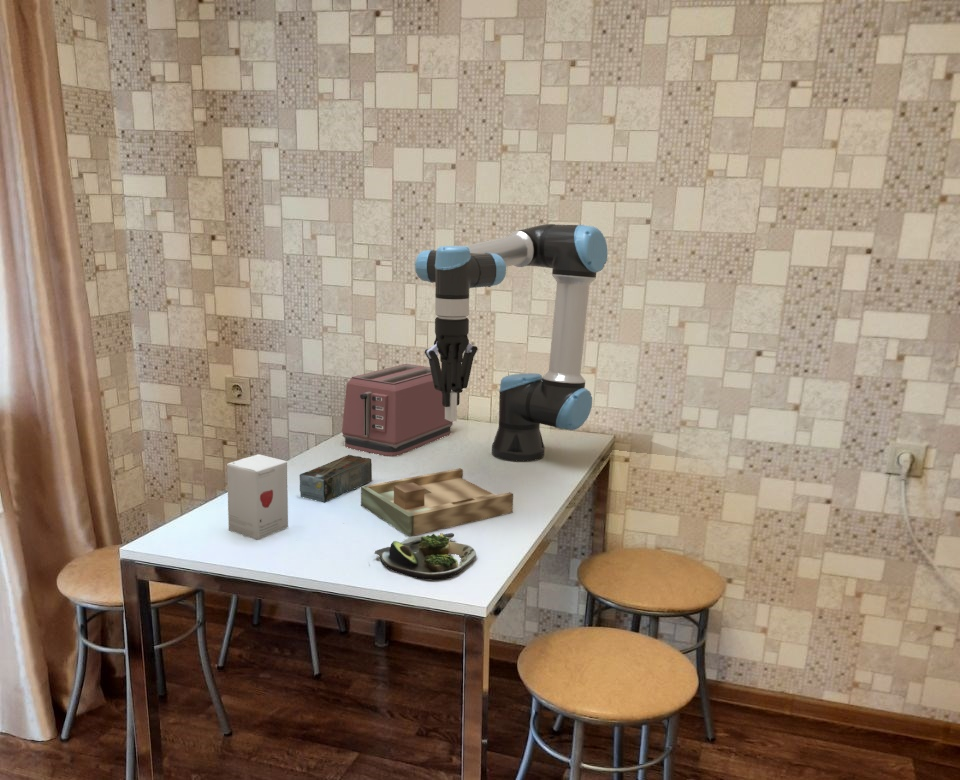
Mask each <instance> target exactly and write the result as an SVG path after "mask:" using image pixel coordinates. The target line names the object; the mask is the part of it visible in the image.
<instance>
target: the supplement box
mask: <svg viewBox="0 0 960 780" xmlns="http://www.w3.org/2000/svg"><path fill="white" fill-rule="evenodd" d="M226 470H227V471H226V476H227V479H226V480H227V511H228V512H227V515H228V531H230V532H232V533H233V532H234V533H236V534H238V535H242V536H245V537H248V538H252V539H253V540H256V541H258V540H261V539H264V538H266V537H268V536H270V535H271V536H272V534H275V533H278V532H280V531H282V530H285V529H287V527H288V528H289V507H288V506H289V505H288V504H289V502H288V499H289V498H288V461H287V460H283V459H279V458H277V457H276V458H275V457H271V456H267V455H263V454H260V453H259V454H258V453H257V454H254V455H251V456H248V457H243V458H240V459H237V460H235V461H231V462H228V463H227V464H226Z"/></svg>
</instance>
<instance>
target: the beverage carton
mask: <svg viewBox="0 0 960 780" xmlns="http://www.w3.org/2000/svg"><path fill="white" fill-rule="evenodd" d="M372 463H373V462H372V458H369V457H363V456H359V455H357V456H356V455H352V454H347V455H344V456H342V457H340V458H337V459H335V460H333V461H330V462H328V463H326V464H325V463H324V464H323V465H321V466H318V467H316V468H313V469H311V470H308V471H305V472H303V473H300V474H299V492H300V498H303V497H304V499H308V500H311V499H312V501H315V500H316V502H320V503H326V502H329V501H331V500H333V499H335V498H337V497H340V496H342V495H344V494H346V493H349V492H350V491H353V490H355V489H357V488H359V487H362V486H365V485H366V484H368V483H370V482H372V481H373V472H372V471H373V470H372V468H373V467H372V466H373V465H372Z"/></svg>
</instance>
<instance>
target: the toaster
mask: <svg viewBox="0 0 960 780" xmlns="http://www.w3.org/2000/svg"><path fill="white" fill-rule="evenodd" d="M345 388H346V389H345V399H344V409H343V417H342V418H343V419H342V427H341V429H342V430H341V433H342V437H343V438H344V443H345V445H344V446H345V447H346V448H347V447H348V448H347V449H349V448H351V450H354V449H355V451H359V450H360V452H363V451H364V452H363V453H368V452H370V453H369V454H373V453H374V455H377V454H379V455H378V456H382V455H384V456H383V457H398V456H397V455H399V456H401V455H403V453H404V454H406V453H408V451H409V452H411V451H413V449H414V450H416V449H418V447H419V448H422V447H423V445H424V446H426V445H428V444H430V442H431V443H433V442H436V441H437V439H438V440H441V439H443V438H445V437H444V436H446V437H448V436H449V434H451V427H452V426H453V425H454V423H453V422H454V421H452V422H451V421H448V420H446V419H445V406H443V405H442V392H441V391H439V390H436V389H435V388H434V383H433V378H432V373H431V369H430V366H423V365H422V366H421V365H416V364H409V363H404V364H400V365H395V366H391V367H387V368H383V369H380V370H379V369H378V370H375V371H371V372H367V373H364V374H360V375H355V376H352V377H351V378H350V379H349V380H348V381H347V383H346V387H345ZM447 435H448V436H447ZM442 437H443V438H442ZM440 438H441V439H440ZM435 440H436V441H435ZM425 444H426V445H425ZM415 448H416V449H415Z"/></svg>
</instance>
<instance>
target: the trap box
mask: <svg viewBox="0 0 960 780" xmlns="http://www.w3.org/2000/svg"><path fill="white" fill-rule="evenodd" d="M463 472H464V469H463V468H453V469H449V470H443V471H440V472H439V471H437V472H432V473H427V474H422V475H416V476H412V477H406V478H402V479H395V480H389V481H383V482H379V483H373V484H369V485H361V486H360V506H361V507H362V508H363V507H364V509H366V510H367V511H369V512H370V513H372V514H373V515H375V516H377V517H378V518H380V519H381V520H383V521H384V522H386V524H388V525H390V526H392V527H393V528H395V529H396V530H397V531H399V532H401V533H402V534H404V535H405V536H406V537H407V538H410V537H415V536H417V535H422V534H427V533H430V532H435V531H439V530H444V529H447V528H452V527H455V526H460V525H464V524H469V523H473V522H476V521H477V522H478V521H482V520H486V519H490V518H495V517H499V516H503V515H502V514H504V515H506V514H507V513H508V514H511V513H510V512H512V513H513V511H514V508H513V506H514V493H513V492H505V493H500V494H495V493H492V492H491V491H488V490H487V489H485V488H482V487H481V486H479V485H477V484H475V483H472V482H471V481H468V480H467V479H464V478H463V477H464V473H463ZM408 483H415V484H417V485H419V486H420V487H422V488H424V489H425V492H424V506H421V507H416V508H411V509H406V510H404V509H403V508H401V507H400V506H398V505H396V504H395V503H394V486H397V485H402V484H408ZM508 514H507V515H508Z"/></svg>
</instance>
